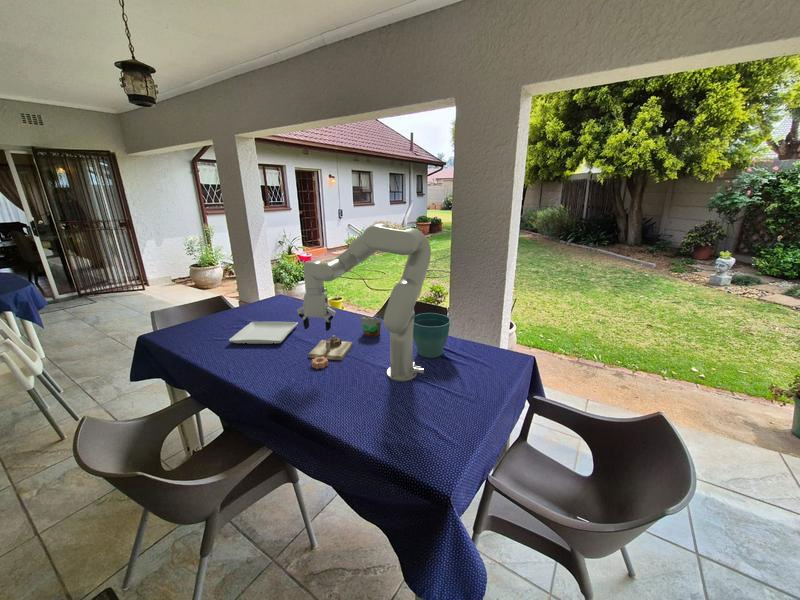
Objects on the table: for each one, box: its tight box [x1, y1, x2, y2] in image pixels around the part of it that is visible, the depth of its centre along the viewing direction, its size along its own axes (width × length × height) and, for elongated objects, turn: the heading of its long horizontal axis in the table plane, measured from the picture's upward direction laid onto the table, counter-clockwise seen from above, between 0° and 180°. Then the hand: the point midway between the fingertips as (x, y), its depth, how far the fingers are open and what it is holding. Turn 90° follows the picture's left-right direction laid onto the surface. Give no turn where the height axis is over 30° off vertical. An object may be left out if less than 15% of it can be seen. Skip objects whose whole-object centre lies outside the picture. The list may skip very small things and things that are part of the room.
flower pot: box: [413, 312, 451, 359], centre depth 158 cm, size 18×18×17 cm
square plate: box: [228, 321, 299, 345], centre depth 181 cm, size 27×27×4 cm
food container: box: [360, 314, 383, 338], centre depth 179 cm, size 12×6×10 cm, turn 62°
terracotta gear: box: [311, 356, 329, 370], centre depth 149 cm, size 7×7×2 cm
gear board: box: [308, 334, 353, 361], centre depth 161 cm, size 16×16×6 cm
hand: (317, 328), depth 145 cm, fingers open, 9 cm apart
